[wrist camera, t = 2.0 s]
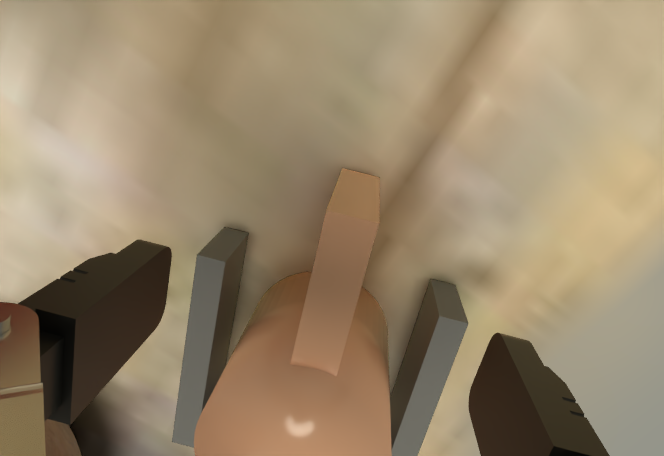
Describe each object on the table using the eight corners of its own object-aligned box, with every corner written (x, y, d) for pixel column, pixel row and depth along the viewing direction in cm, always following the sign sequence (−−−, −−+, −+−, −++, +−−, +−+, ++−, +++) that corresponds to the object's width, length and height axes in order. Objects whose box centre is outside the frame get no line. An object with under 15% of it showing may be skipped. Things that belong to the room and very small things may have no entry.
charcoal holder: (224, 226, 22) (197, 254, 19) (455, 284, 22) (468, 323, 19) (198, 393, 26) (171, 441, 22) (397, 445, 25) (399, 501, 22)
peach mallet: (286, 146, 20) (232, 192, 13) (438, 184, 20) (472, 252, 13) (243, 371, 25) (183, 503, 17) (368, 403, 25) (363, 550, 17)
